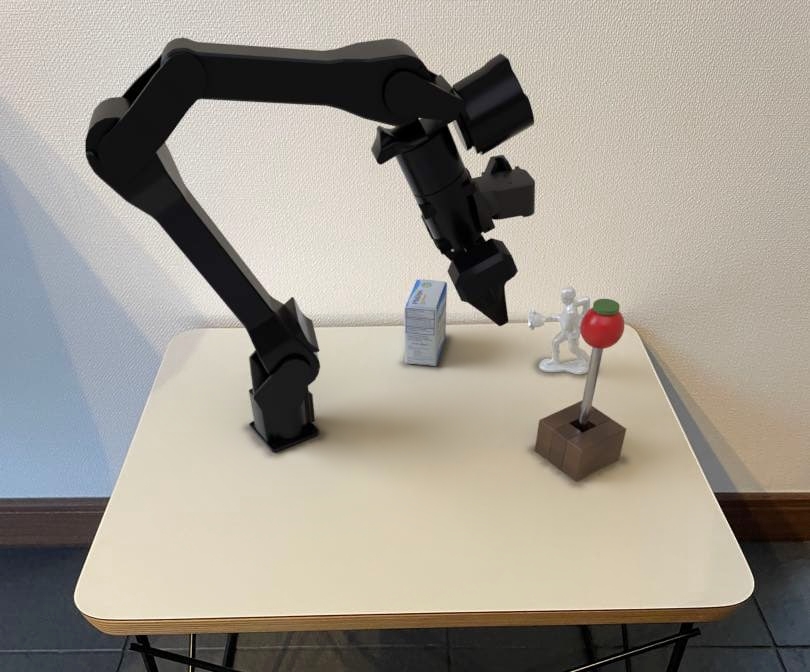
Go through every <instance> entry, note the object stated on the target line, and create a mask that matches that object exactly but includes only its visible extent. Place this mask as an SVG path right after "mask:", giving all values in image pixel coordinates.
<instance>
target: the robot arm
mask: <svg viewBox="0 0 810 672" xmlns="http://www.w3.org/2000/svg"><path fill="white" fill-rule="evenodd" d="M200 100H209V101H229V102H246V103H263V104H264V103H266V104H285V105H303V106H305V105H306V106H319V107H320V106H321V107H329V108H334V109H337V110H341V111H344V112H346V113H349V114H351V115H354V116H357V117H359V118H361V119H364V120H368V121H372V122H376V123H379V124H384V125H388V126H392V128H387V127H384V126H382V125H378V126H377V127H376V133H375V138H374V140H373V143H372V146H371V148H370V151H371V154H372V156H373V158H374V159H375V161H376V163H377V164H378V165H380V166H381V165H383V164H385V163H387V162H389V161H391V160H392V159H394V158H395V159H396V161H397V164H398V166H399V167H400V170H401V172H402V174H403V176H404V178H405V180H406V182H407V184H408V187H409V189H410V191H411V193H412V195H413V197H414V200H415V201H416V204H417V205H418V208H419V210H420V212H421V214H420V215H421V216H420V218H421V220H422V222H423V224H424V226H425V228H426V231H427V233H428V235H429V237H430V238H431V240H432V241H433V243H434V245H435V247H436V248H437V249H438V251H439V252H440V254H441V255H443V256H445V258H447V259H448V260H449V261H450V264H449V266H448V269H447V271H446V272H447V274H448V276H449V278H450V281H451V282H452V285H453V287H454V288H455V290H456V293H457V295H458V297H459V299H460V301H461V302H464V303H467V304H469V305H470V306H472V307H473V308H474V309H476V310H478V311H479V312H480V313H481V314H483V315H484V316H485V317H486V318H488V319H489V320H491V321H492V322H493V323H495V324H496V325H497V326H498V327H502V326H504V325H506V324H508V323H509V315H508V307H507V297H506V288H505V286H506V284H507V283H508V282H509V281H511V280H512V279H513V278H515V276H516V275H517V273H518V272H519V270H518V268H517V265H516V262H515V260H514V257H513V255H512V253H511V252H510V250H509V249H508V246H506V244H505V242H504V241H503V240H500V239H497V238H493V237H490V238H489V239H487V240H486V239H485V237H484V235H483V234H487V233H488V232H490V231H492V230H494V229H496V225H495V223H494V221H500V220H504V219H505V220H506V219H511V218H512V219H513V218H516V217H523V218H527V217H531V216H533V215H534V214H535V213H536V212H535V211H536V210H535V209H536V208H535V207H536V205H535V203H536V180H535V179H534V178H533V177H532V175H531V174H530V173H529V172H528V171H527V170H526V169H523V168H521V167H520V166H519V165H516V166H514V168H512V165H511V164H510V162H509V160H508V159H507V157H506V156H505V155H504V154H499V155H495V156H494V155H493V156H490V157H489V159H488V161H487V164H486V166H485V169H484V171H481V173H480V176H476V177H472V175H471V172H470V170H469V169H468V167H466V166H465V164H464V161H463V159H462V157H461V154H460V151H459V149H458V147H457V144H456V142H455V139H454V137H453V133H452V132H451V130H450V127H449V124H452V125H453V127H454V130H455V132H456V134H457V136H458V138H459V140H460V143H461V144H462V146H463V148H464V150H465V151H466V152H468V151H470V150H471V149H473V150H474V151H475V153H476V155H478V154H479V155H480V156H484V155H485V154H487V153H488V152H490V151H492V150H494V149H495V148H497V147H499V146H500V145H502V144H504V143H506V142H508V141H510V139H512V138H514V137H516V136H517V135H519V134H521V133H522V132H524V131H526V130H529V128H531V127H532V126H534V125H535V116H534V112H533V108H532V104H531V102H530V99H529V96H528V95H527V94H526V93H524V89H523V87H522V85H521V83H520V81H519V79H518V77H517V75H516V73H515V72H514V70H513V68H512V65H511V61H510V58H508V57H507V56H506V55H504V54H503V53H499V54H497V55H495V56H494V57H492V58H491V59H489V60H488V61H487V62H486V63H485V64H484V65H482V67H480V68H478V69H477V70H475V71H473V72H472V73H470V74H468V75H467V76H466V77H463V78H462V79H460V80H459V81H457V82H455V83H454V84H452V85H451V84H450V83H449V82H448V81H447V80H446V79H445V77H444V76H443V75H442V74H437V73H435V72H433V71H432V70H430V69H428V66H426V64H425V63H424V61H422V59H421V58H420V57H419V56H418V55H417V53H416V52H415V51H414V50H413V49H412V47H411V46H409V44H407V43H405V42H404V41H403V40H401V39H397V38H382V39H374V40H366V41H360V42H354V43H351V44H348V45H344V46H341V47H338V48H333V49H326V50H325V49H324V50H320V49H319V50H318V49H317V50H316V49H306V48H305V49H304V48H291V47H289V48H287V47H277V46H276V47H273V46H259V45H249V44H247V45H245V44H233V43H218V42H216V43H215V42H203V41H202V42H201V41H195V40H192V39H190V38H188V37H175V38H174V39H172V40H170V41H169V42H167V43H166V45H165V46H164V48H163V49H162V52H161V54H160V55H158V57H157V58H156V59H155V61H153V62H152V63H151V64H150V65H149V66H148V67H147V68H146V69H145V70H144V71H142V73H141V74H140V75H139V76H138V77H137V78H135V80H134V81H133V82H132V83H131V84H130V86H128V88H127V89H126V90H125V92H124V93H122V95H121V96H114V97H108V98H106V99H104V100H103V101H101V102H99V104H98V105H97V106H96V107H95V108H94V109H93V112H92V115H91V118H90V121H89V125H88V129H87V132H86V136H85V140H84V141H85V144H84V146H85V148H84V149H85V159H86V161H87V163H88V165H89V167H90V169H91V170H92V171H93V173H94V174H95V175H96V176H97V177H98V178H99V179H100V180H101V181H102V182H104V183H105V185H107V186H108V187H109V188H110V189H111V190H113V191H114V192H115V193H116V194H117V195H118V196H120V197H121V198H122V199H123V200H124V201H125V202H127V204H129V205H131V206H133V207H135V209H138V210H140V211H141V212H143V213H144V214H146V215H148V216H150V217H151V219H153V220H154V221H156V222H157V224H158V225H159V226H160V227H161V228H162V229H163V231H164V232H165V234H167V235H168V237H169V238H170V239H171V241H172V242H173V243H174V244H175V246H177V248H178V249H179V250H180V251H181V253H182V254H183V255H184V256H185V257H186V259H187V260H188V261H189V262H190V263H191V265H192V266H193V267H194V268H195V270H196V271H198V273H199V274H200V275H201V277H202V278H203V279H204V280H205V281H206V282H207V284H208V285H209V286H210V287H211V289H212V290H213V291H214V292H215V293H216V294H217V295H218V297H219V298H220V299H221V300H222V302H223V303H224V304H225V305H226V307H227V308H228V309H229V310H230V311H231V312H232V314H233V315H234V316H235V317H236V319H237V320H238V321H239V322H240V323H241V325H242V326H243V327H244V329H245V330H246V332H247V334H248V337H249V338H250V342H251V343H252V345H253V348H254V351H253V352H252V353H251V354H250V355H249V356H248V363H249V370H250V371H249V372H250V379H251V380H250V381H251V387H252V388H250V389H248V395H249V399H250V401H249V402H250V406H251V411H252V417H253V421H250V422H249V428H250V430H251V431H252V432H253V433H254V434H255V435H256V436H257V437H258V438H259V440H261V442H262V443H263V444H264V445H265V446H266V447H267V448H268V449H269V450H270V451H271V452H272V453H277V452H280V451H282V450H284V449H288V448H290V447H292V446H295V445H297V444H299V443H302V442H304V441H306V440H309V439H311V438H314V437H317V436H318V435H319V434H320V429H319V428H318V427H317V426H316V425H315V421H316V413H315V406H314V405H315V404H314V396H313V395H314V394H313V393H312V392H311V391H310V390H309V386H310V385H311V384H312V383H314V382H315V381H316V379H317V378H318V376H319V374H320V369H321V363H320V359H319V354H318V353H319V352H320V347H319V342H318V339H317V334H316V331H315V326H314V322H313V320H312V319H311V318H309V317H308V316H306V314H304V313H303V312H302V310H301V309H300V307H299V304H298V302H297V301H296V299H295V297H294V296H291V297H290V298H289V299H288V300H287V301H286V302H285V303H283V302H281V301H280V300H277V298H274V297H273V296H272V295H271V294H270V293H269V292H268V291H267V289H266V288H265V287H264V286H263V285H262V283H261V282H260V280H259V279H258V277H256V275H255V274H254V273H253V271H252V270H251V269H250V268H249V266H248V265H247V264H246V262H245V261H244V260H243V258H242V257H241V256H240V254H239V253H238V252H237V250H236V249H235V248H234V247H233V245H232V244H231V242H230V241H229V240H228V239H227V238H226V237H225V235H224V233H223V232H222V231H221V230H220V229H219V227H218V225H216V224H215V222H214V221H213V219H212V218H211V216H210V215H209V214H208V213H207V212H206V211H205V209H204V208H203V206H202V205H201V204H200V202H199V201H198V200H197V198H195V195H193V194H192V192H191V191H190V189H189V188H188V187H187V185H186V183H185V182H184V180H183V177H182V175H181V173H180V171H179V169H178V166H177V164H176V162H175V160H174V157H173V155H172V153H171V151H170V149H169V147H168V145H167V140H168V139H169V137H170V136H171V135H172V134H173V132H174V131H175V130H176V128H177V126H178V125H179V124H180V122H181V121H182V120H183V118H184V117H185V116H186V114H187V113H188V111H189V110H190V109H191V108H192V107H193V106H194V104H196V102H197V101H200ZM482 233H483V234H482Z"/></svg>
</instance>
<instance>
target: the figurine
mask: <svg viewBox="0 0 810 672" xmlns="http://www.w3.org/2000/svg"><path fill="white" fill-rule="evenodd" d="M559 294H560V297H561V298H560V300H561V302H562V304H563V307H562V313H561V314H557V315H555V314H554V315H549V316H548V315H547V316H545V315H543V314H541V313H539V312H536V309H531V310H530V311H529V316H528V319H527V321H528V323H527V326H528V327H527V329H528V331H534V330H535V329H536V328H541V327H544V326H545V324H546V321H550V320H555V321H556V322H558V323H559V325H560V328H561V330H560V331H559V332H558V333H557V334H556V335H555V336H553V338H552V339H551V341H550V342H551V343H550V348H551V349H550V352H551V355H552V356H551V358H544V359H542V360H541V361H540V363H539V365H538V367H539V369H540V370H541V371H542V372H545V373H563V372H566V373H570V374H573V375H580V376H581V375H584V374H588V369H589V364H590V359H591V354H588V353H587V351H586V350H585V349H583V348H581V347H580V346H579V345H580V337H581V331H580V325H581V321H582V318H583V316H584V315H585V313H586V312H587V311H588V310H589V309H591V298H590V297H589V296H588V295H584V296H578V297H577V294H576V289H575V288H574V287H572V286H571V285H570V286H569V285H568V286H567V285H566V286H563V288H562V289H561V291H560V293H559ZM579 307H582V309H581V313H580V314H579V312H578V311H579V310H578V308H579ZM566 341H567V344H568V350H569V352H570V353H571V354H572V355H573V356H575V357H576V358H577V359H575V360H570V361H565V362H560V353H561V349H560V344H562V343H564V342H566Z"/></svg>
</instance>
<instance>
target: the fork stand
mask: <svg viewBox="0 0 810 672" xmlns="http://www.w3.org/2000/svg"><path fill="white" fill-rule="evenodd" d="M581 405H582V400H580V401H577V402H575V403H573V404H571V405H568V406H567V407H565V408H562V409H560V410H558V411H556V412H554V413H551V414H549V415H547V416H545V417H542V418H540V419H539V420H538V425H537V432H536V440H535V445H534V452H536V453H537V454H538V455H540V456H541V457H542V458H544V459H545V460H546V461H548V462H549V463H550V464H552V466H554V467H555V468H557V469H558V470H560V471H561V472H562V473H563V474H565V475H566V476H567V477H568V478H570V479H571V480H573V481H574V482H576V483H577V482H578V481H580V480H582V479H584V478H586V477H588V476H590V475H592V474H595V472H598V471H600V470H602V469H604V468H606V467H607V466H609V465H611V464H613V463H615V462H618V461H619V460H620V457H621V453H622V449H623V445H624V443H625V442H624V441H625V437H626V434H627V428H626V427H624V426H623V425H621V424H620V423H619V422H617V421H616V420H614V418H613V419H612V418H611V417H610V416H608V415H607V414H605V413H603V412H602V411H601V410H599V409H598V408H596V407H595V406H593V405H592V406H591V411H590V416H589V421H588V426H587V430H586V431H585V432H583V433H582V432H581V431H579V430H578V429H577V426H578V420H579V415H580V410H581Z"/></svg>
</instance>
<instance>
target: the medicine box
mask: <svg viewBox="0 0 810 672" xmlns="http://www.w3.org/2000/svg"><path fill="white" fill-rule="evenodd" d="M447 297H448V282H446V281H443V280H433V279H416V280H415V282H414V285H413V288H412V290H411V292H410V294H409V296H408V299H407V301H406V303H405V306H404V307H403V308H404V311H403V315H404V316H403V317H404V318H403V323H404V325H403V326H404V360H405V361H404V362H405V363H406V364H410V365H419V366H429V367H430V366H431V367H436V366H437V365H438V362H439V359H440V355H441V352H442V349H443V346H444V343H445V340H446V333H447V332H446V331H447V300H448V299H447Z"/></svg>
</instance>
